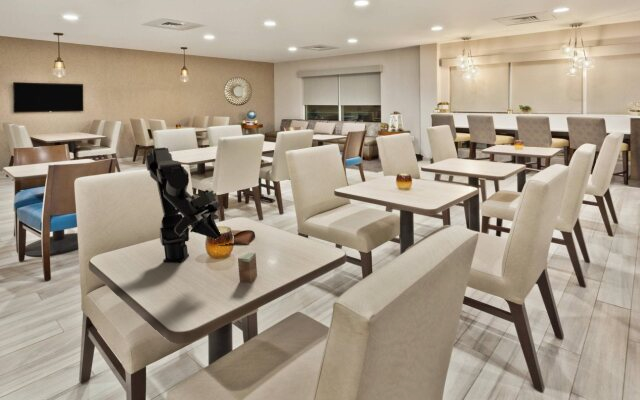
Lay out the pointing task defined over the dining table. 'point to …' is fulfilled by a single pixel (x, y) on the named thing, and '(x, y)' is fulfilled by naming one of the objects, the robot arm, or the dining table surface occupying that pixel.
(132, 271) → the dining table surface
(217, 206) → the robot arm
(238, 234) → the sunglasses case
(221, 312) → the dining table surface
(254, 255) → the walnut block
